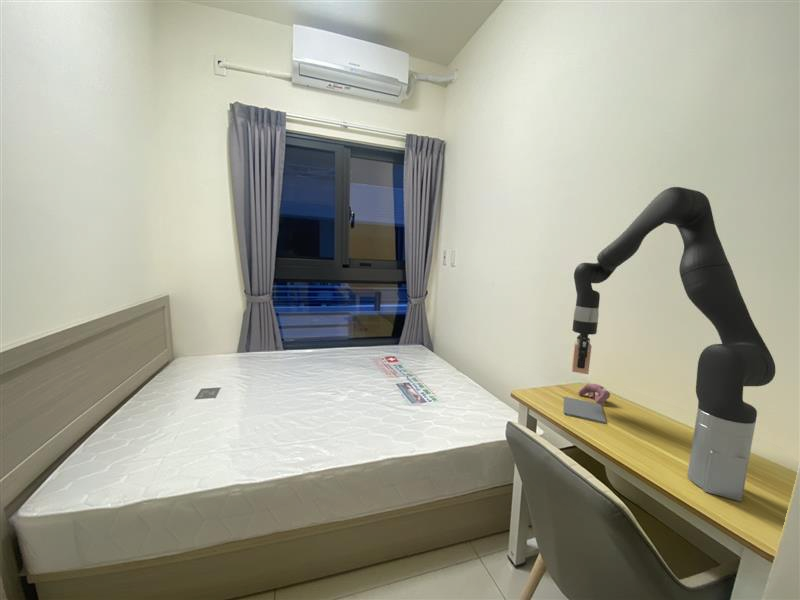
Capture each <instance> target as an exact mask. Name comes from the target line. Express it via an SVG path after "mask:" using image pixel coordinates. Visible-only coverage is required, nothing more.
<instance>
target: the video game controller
mask: <svg viewBox="0 0 800 600" xmlns="http://www.w3.org/2000/svg"><path fill="white" fill-rule="evenodd" d="M596 393H597V394H596ZM586 394H587V396H588V397H589V398H591V397H592V398H591V399H595V400H596V401H595V403H598V404H601V405H603V404H604V403H605V402H606V401H607V400H608V399H609V398H610V397H611V393H610V391H608V390H607V389H606V388H605V387H604V386H602V385H600V384H597V383H592V382H588V383H587V384H585V385H584V386H583V387H582V388H580V390H579V391H578V396H580V395H582V396H585V395H586Z"/></svg>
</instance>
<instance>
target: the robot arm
mask: <svg viewBox="0 0 800 600" xmlns="http://www.w3.org/2000/svg"><path fill="white" fill-rule="evenodd" d="M714 219H715V218H714V215H713V211H712V207H711V203H710V199H709V198H708V197H707V196H706V194H705V193H703V192H701V191H699V190H694V189H690V188H687V187H681V186H673V187H671V186H670V187H669V188H666V189H664V190H663V191H661V192H660V193H658V194H657V195H656V196H655V197H654V198H653V199H652V200H651V201H650V203H648V204H647V205H646V207H645V208H644V209H643V210H642V211H641V213H640V214H639V215H638V216H637V217H636V218H635V219H634V220H633V221H632V223H631V224H630V225H628V227H627V228H626V229H625V230H624V231H623V232H622V233H621V234H619V236H618V237H617V238H616V239H614V240H613V241H612V242H611V243H609V244H608V245H607V246H606V247H604V248H603V249H602V250H601V251H600V252H599V253H598V254H597V257H596V261H597V262H596V263H595V262H581V263H579V264H578V265H576V267H575V270H574V272H573V279H574V285H575V290H576V300H575V301H576V303H575V308H574V311H573V320H572V332H574V333H578V336H577V337H576V342H577V343H578V347H577V350H578V351H579V352H578V364H577V367H578V368H582V369H584V368H585V359H586V358H587V352H588V350H589V344H591V338H590V337H589V335H592V336H593V335H596V334H597V332H598V324H599V316H600V315H599V310H600V309H599V308H600V299H601V294H600V292H599V291H597V290H594V289H593V285H592V284H601V283H603V282H605V281H607V280H608V279H609V278H610V277H611V276H612V274H613V273H614V272H615V270H616V269H617V268H618V267H619V266H621V265H622V264H623V263H626V262H627V261H628V260H629V259H630V258H632V257H633V256H635V254H636V253H637V252H638V250H639V248H640V247H641V245H642V243H643V242H644V240H645V238H646V237H647V235H648V234H650V233H651V232H652V231H654V230H655V229H657V228H659V227H660V226H662V225H663V224H669V225H674V226H676V227H677V230H678V231H679V233H680V236H681V239H682V241H683V253H682V256H681V259H680V262H679V276H680V279H681V282H682V286H683V289H684V291H685V293H686V296H687V298H688V299H689V301H691V303H692V304H693V305H694V306H695V307H696V308H697V309H698V310H699V311H700V312H701V313H702V314H703V315H704V316H705V317H706V318H707V319H708V320H709V321H710V323H711V324H712V325H713V326H714V327H715V329H716V331H717V334H718V336H719V339H720V341H721V343H714V344H710V345H707V346H706V347H705V348H704V349H703V350H702V351H701V353H700V355H699V358H698V361H697V368H696V370H697V371H696V382H695V394H696V398H697V400H698V401H697V402H698V403H697V413H696V418H695V421H694V422H695V423H694V430H693V436H692V442H691V450H690V455H689V462H688V469H687V477H688V479H689V480H690V482H692V483H693V484H695V485H696V486H697V487H699V488H700V489H702V491H704V492H706V493H709V494H712V495H716V496H719V497H723V498H727V499H730V500H734V501H738V502H742V500H743V496H744V490H745V485H746V480H747V479H746V478H747V473H748V468H749V463H750V456H751V451H752V444H753V439H754V434H755V428H756V422H757V417H758V410H757V409H756V408H755V406H753V405H751V404H749V403H748V402H745V401H744V399H743V398H744V387H762V386H766V385H768V384H770V383H771V382H772V381H773V380H774V378H775V375H776V363H775V361H774V358H773V355H772V354H771V352H770V349H769V348H768V346H767V344H766V342H765V341H764V339H763V337H762V335H761V334H760V332H759V330H758V329H757V326H756V325H755V323H754V321H753V319H752V317H751V315H750V312H749V310H748V307H747V304H746V302H745V300H744V298H743V295H742V293H741V290H740V288H739V285H738V281H737V279H736V277H735V274H734V271H733V269H732V266H731V264H730V261H729V259H728V258H727V255H726V252H725V249H724V247H723V245H722V242H721V239H720V237H719V235H718V232H717V228H716V223H715V220H714ZM579 344H580V348H579ZM581 351H584V352H585V354H581Z"/></svg>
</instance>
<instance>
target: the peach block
mask: <svg viewBox="0 0 800 600" xmlns="http://www.w3.org/2000/svg"><path fill="white" fill-rule="evenodd" d="M577 347H578V343H577V341H574V345H573V354H572V364H571V372H573V373H577V374H578V373H579V374H585V375H589V372H590V363H591V354H592V345H591V343H590V344H589V350H588V352H587V358H586V359H585V368H584V369H582V368H578V367H577V364H578V352H579V351H578V350H577ZM579 348H580V344H579ZM581 354H585V352H584V351H581Z"/></svg>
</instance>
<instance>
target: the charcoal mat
mask: <svg viewBox="0 0 800 600" xmlns="http://www.w3.org/2000/svg"><path fill="white" fill-rule="evenodd" d="M604 413H605V412H604V410H603V407H602V404H598V403H596V402H594V401H593V402H592V401H587V400H583V399H578V398H572V397H568V396H563V415H564V414H565V415H566V416H569V417H573V418H578V419H583V420H587V421H592V422H596V423H600V424H607V420H606V417H605V414H604Z"/></svg>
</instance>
